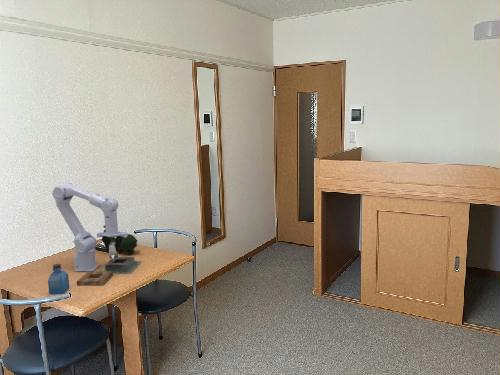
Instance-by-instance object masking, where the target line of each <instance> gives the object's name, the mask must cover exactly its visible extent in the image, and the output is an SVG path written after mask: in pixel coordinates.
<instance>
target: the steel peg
mask: <svg viewBox="0 0 500 375" xmlns="http://www.w3.org/2000/svg"><path fill="white" fill-rule="evenodd" d="M108 246H109V252H108V257H109V260H111V259H114V258H117V257H119V253H118V252H117V251H116V243H115V242H112V243H109V244H108Z"/></svg>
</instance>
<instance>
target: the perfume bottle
mask: <svg viewBox="0 0 500 375" xmlns="http://www.w3.org/2000/svg"><path fill="white" fill-rule="evenodd" d="M61 265H62V264H61V263H55V264H53V265H52V272H51V274H50V276H49V278H48V280H47V286H48V294H49V295H64V294H65V293H67V291H68V290H69V289H70V278H69V274H68V272H66V271H65V270H62V266H61Z"/></svg>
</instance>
